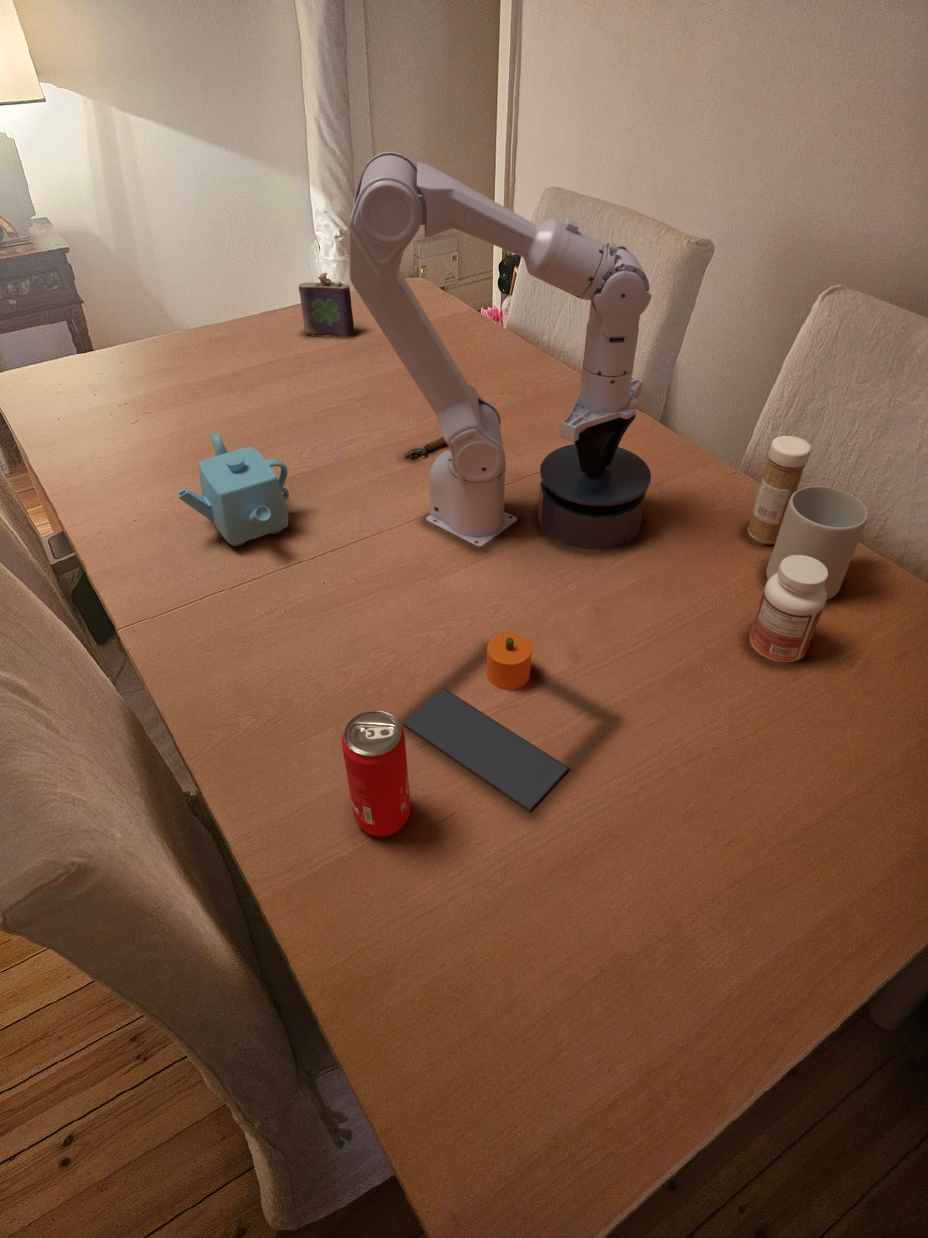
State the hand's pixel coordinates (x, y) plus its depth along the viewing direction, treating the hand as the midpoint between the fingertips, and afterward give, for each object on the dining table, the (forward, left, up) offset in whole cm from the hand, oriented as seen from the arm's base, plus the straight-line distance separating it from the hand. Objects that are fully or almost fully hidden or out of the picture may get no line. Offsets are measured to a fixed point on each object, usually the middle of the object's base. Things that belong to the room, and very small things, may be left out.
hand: (595, 467), depth 102 cm
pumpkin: (+9, -29, -8) cm, 31 cm away
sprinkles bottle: (+19, +12, -8) cm, 24 cm away
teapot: (-34, -30, -8) cm, 46 cm away
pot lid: (0, 0, -1) cm, 1 cm away
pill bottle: (+29, -6, -8) cm, 31 cm away
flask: (-69, +18, -8) cm, 72 cm away
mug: (+27, +8, -8) cm, 29 cm away
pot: (0, 0, -8) cm, 8 cm away
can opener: (-28, 0, -8) cm, 29 cm away
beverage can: (+11, -50, -8) cm, 52 cm away
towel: (+13, -34, -8) cm, 37 cm away
